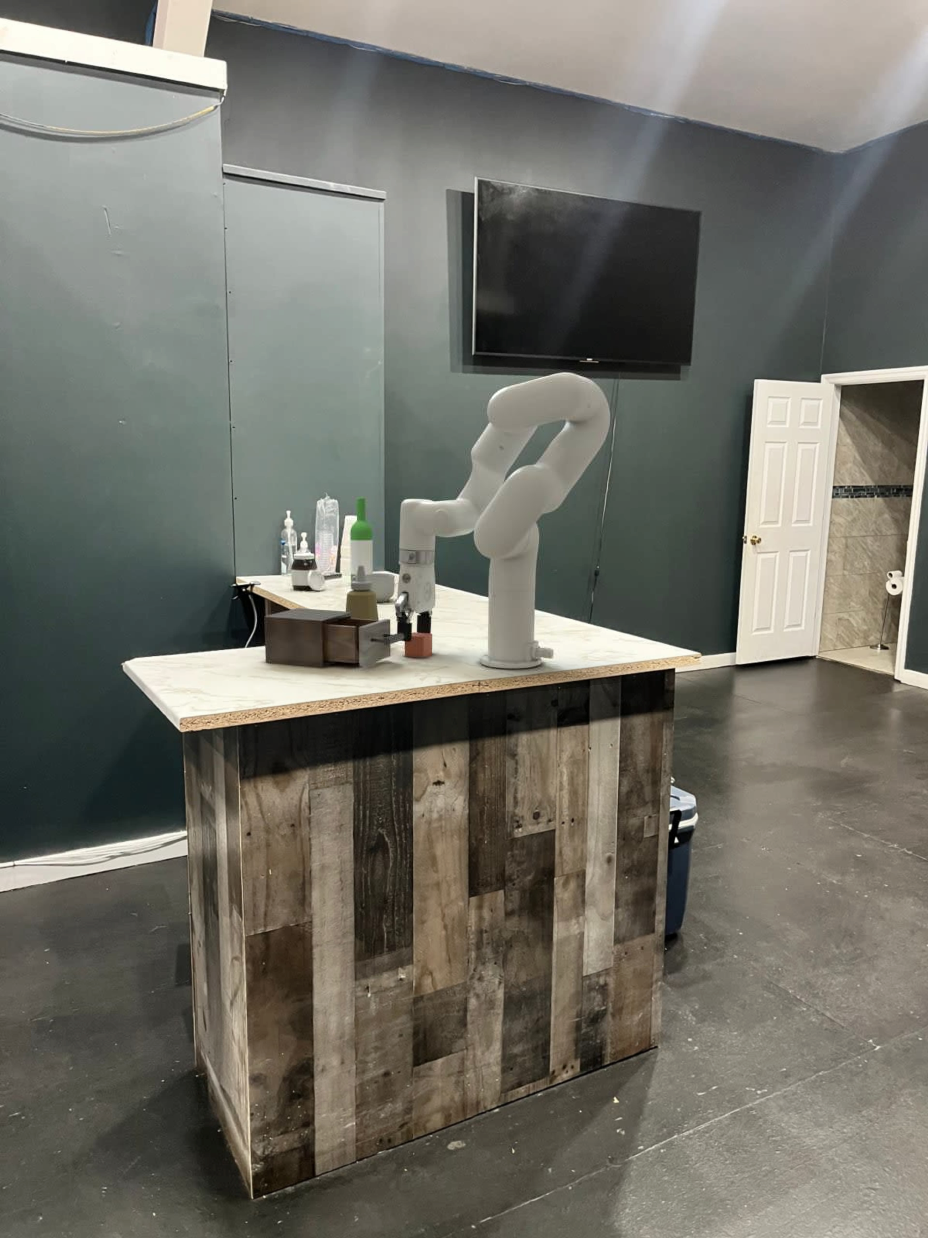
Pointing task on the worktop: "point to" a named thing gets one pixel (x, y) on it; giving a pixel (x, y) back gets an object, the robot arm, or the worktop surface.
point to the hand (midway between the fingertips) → (414, 637)
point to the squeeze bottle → (362, 598)
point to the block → (419, 645)
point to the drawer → (358, 640)
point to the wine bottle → (361, 542)
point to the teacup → (381, 585)
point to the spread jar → (306, 573)
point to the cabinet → (299, 636)
